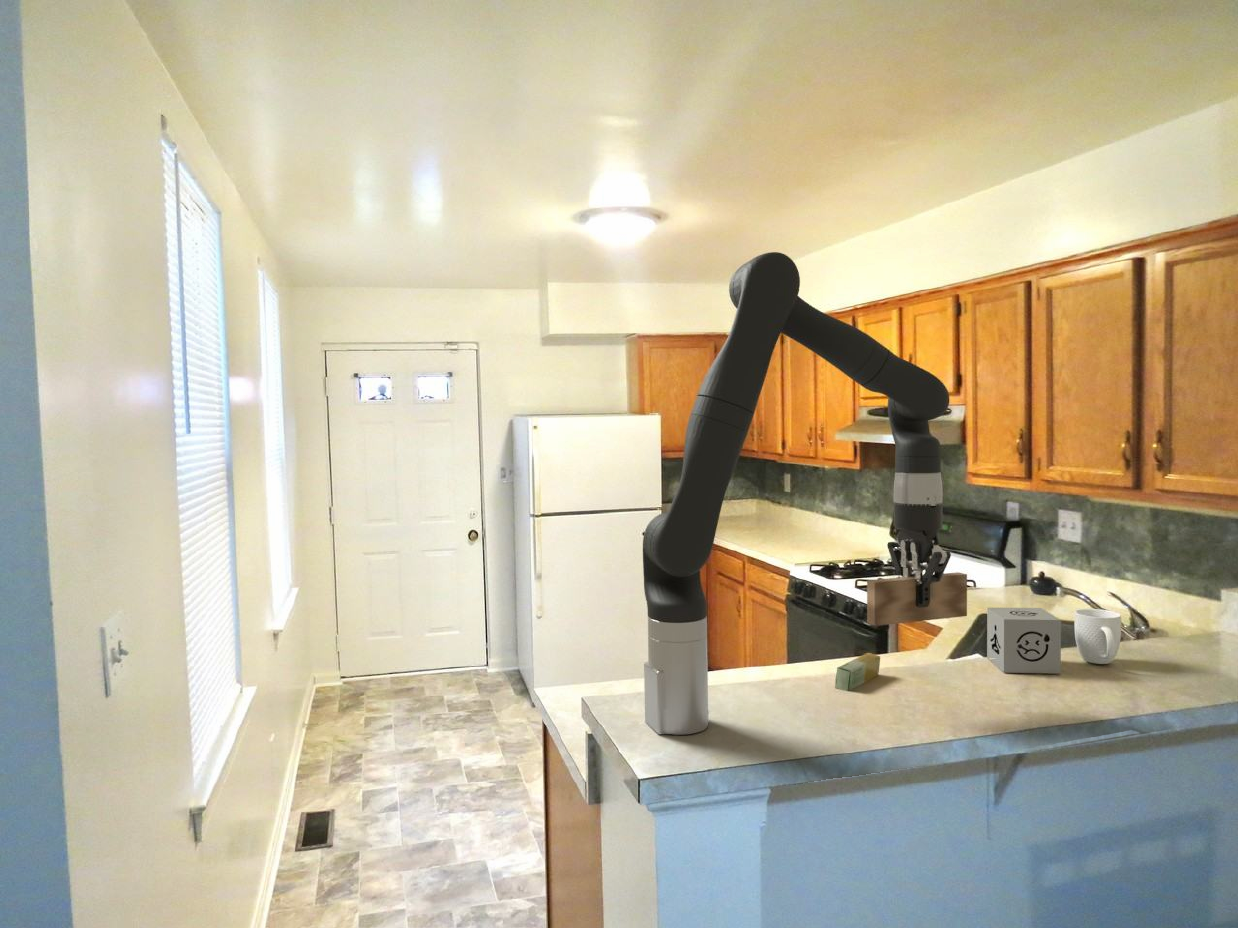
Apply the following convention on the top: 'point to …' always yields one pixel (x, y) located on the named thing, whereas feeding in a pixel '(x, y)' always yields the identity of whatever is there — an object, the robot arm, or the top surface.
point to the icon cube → (1024, 640)
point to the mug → (1097, 634)
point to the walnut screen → (898, 600)
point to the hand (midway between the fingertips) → (917, 604)
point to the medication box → (857, 671)
